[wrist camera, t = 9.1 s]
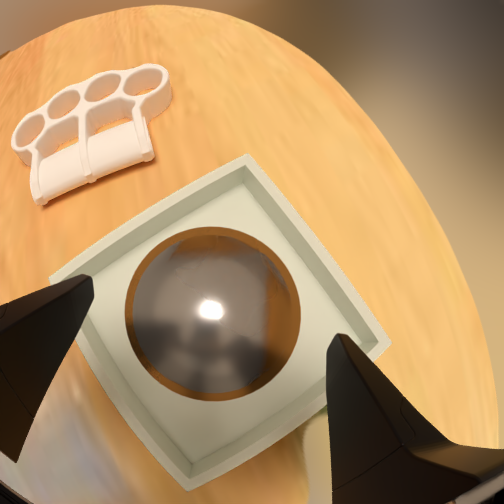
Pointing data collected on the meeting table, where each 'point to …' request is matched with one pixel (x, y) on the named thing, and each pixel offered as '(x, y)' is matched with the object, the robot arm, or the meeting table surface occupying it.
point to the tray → (252, 405)
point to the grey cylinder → (212, 313)
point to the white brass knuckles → (91, 129)
